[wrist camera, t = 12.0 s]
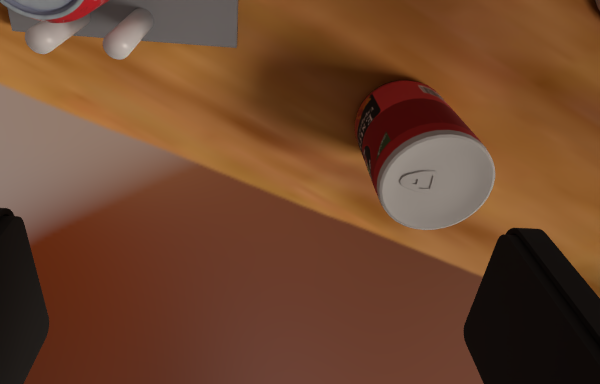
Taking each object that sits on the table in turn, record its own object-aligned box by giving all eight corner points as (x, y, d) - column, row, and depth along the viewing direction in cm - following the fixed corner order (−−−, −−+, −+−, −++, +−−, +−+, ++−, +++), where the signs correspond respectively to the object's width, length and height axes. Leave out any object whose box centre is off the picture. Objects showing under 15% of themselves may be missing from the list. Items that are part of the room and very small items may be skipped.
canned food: (347, 87, 39) (373, 147, 30) (443, 67, 39) (499, 122, 30) (358, 166, 43) (383, 240, 34) (445, 149, 43) (494, 220, 34)
